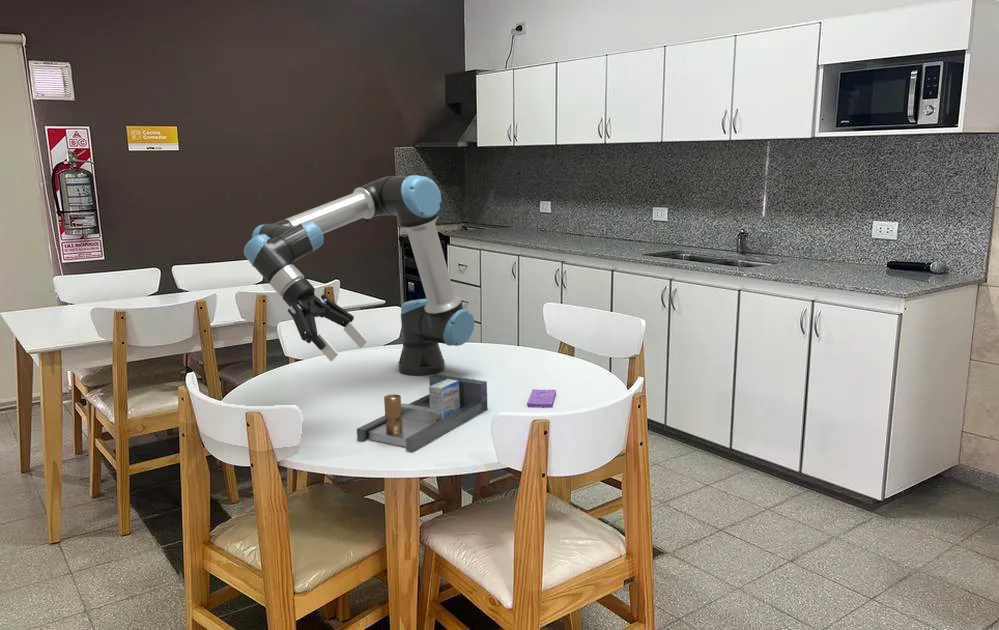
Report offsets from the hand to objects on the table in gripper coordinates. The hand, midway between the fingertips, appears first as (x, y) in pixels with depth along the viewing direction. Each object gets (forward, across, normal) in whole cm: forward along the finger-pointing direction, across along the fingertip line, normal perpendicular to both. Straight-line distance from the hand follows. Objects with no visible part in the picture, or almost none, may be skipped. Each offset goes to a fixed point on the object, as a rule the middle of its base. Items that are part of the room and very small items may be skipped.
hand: (350, 350), depth 184 cm
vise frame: (+25, -13, -6) cm, 29 cm away
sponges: (+42, -40, +10) cm, 59 cm away
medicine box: (+26, -22, -5) cm, 35 cm away
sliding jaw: (+24, -5, -7) cm, 25 cm away
